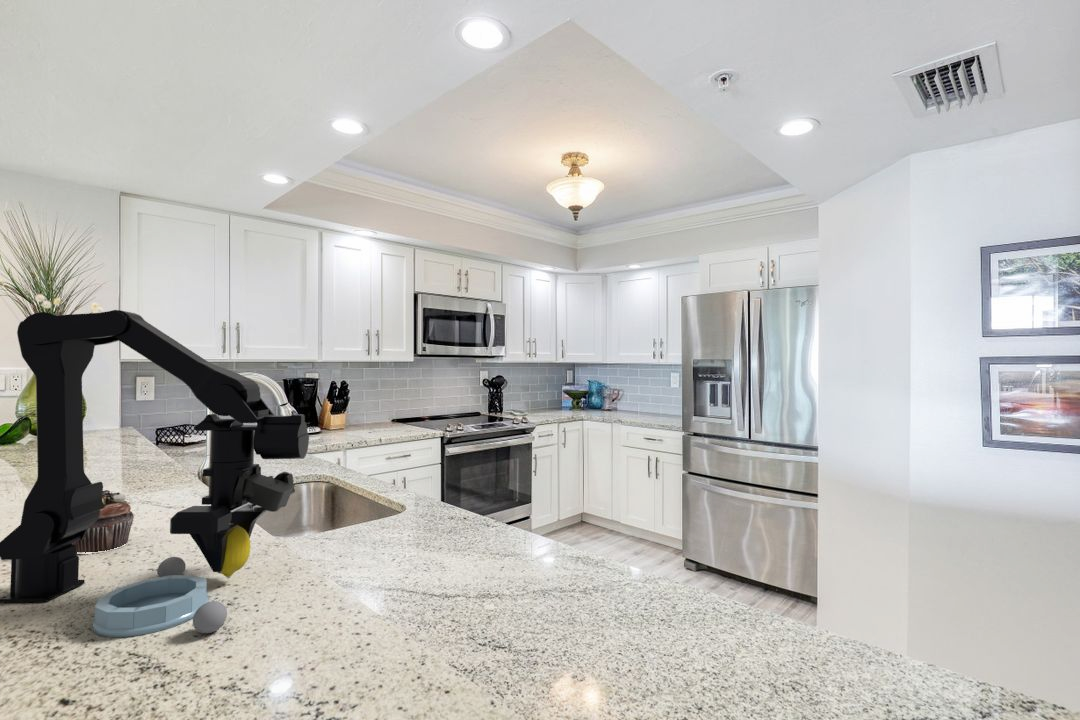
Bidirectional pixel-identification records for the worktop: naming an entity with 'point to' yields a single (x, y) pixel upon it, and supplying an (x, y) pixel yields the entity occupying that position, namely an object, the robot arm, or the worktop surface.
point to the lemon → (236, 551)
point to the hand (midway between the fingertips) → (228, 564)
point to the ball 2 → (209, 617)
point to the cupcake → (108, 525)
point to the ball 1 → (171, 567)
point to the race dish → (149, 605)
